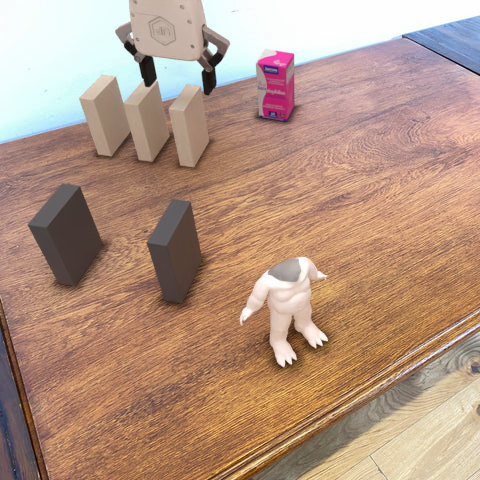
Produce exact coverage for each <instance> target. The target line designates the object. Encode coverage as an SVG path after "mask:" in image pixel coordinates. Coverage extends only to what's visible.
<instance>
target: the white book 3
mask: <svg viewBox="0 0 480 480" xmlns="http://www.w3.org/2000/svg"><path fill="white" fill-rule="evenodd" d="M202 91H203V90H202V86H201V85H196V84H188V83H187V84H185V86H184V87H183V89H181V91H180V93H179V94H178V95H177V97H176V98H175V99H174V101H173V102H172V103H171V105H170V106H169V107H168V114H169V118H170V123H171V127H172V132H173V133H172V134H173V137H174V142H175V147H176V152H177V156H178V161H179V166H181V167H186V168H187V167H188V168H195V167H196V165H197V163H198V162H199V160H200V158H201V156H202V155H203V153H204V151H205V149H206V147H207V146H208V145H209V143H210V137H209V131H208V123H207V117H206V111H205V105H204V98H203V97H204V96H203V92H202Z"/></svg>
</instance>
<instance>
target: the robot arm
mask: <svg viewBox="0 0 480 480" xmlns="http://www.w3.org/2000/svg"><path fill="white" fill-rule="evenodd" d="M128 7H129V18H130V21H128V22H126V23H124V24H122V25H119V27H117V28H116V29H115V31H114V33H115V35H116V36H117V38H118V39H119V41H120V43H122V44H123V48H124V49H125V50H126V51H127V52H128V53H129V54H130V55H131V56H132V58H133V60H134V62H136V63H138V68H139V71H140V76H141V79H142V80H144V84H145V87H151V85H152V84H153V83H154V82H155V81H157V79H158V76H157V71H156V64H155V59H154V58H159V59H168V60H175V61H182V62H183V61H184V62H197V63H198V64H199V65H200V66H201V68H203V69H202V70H201V74H200V75H201V81H202V89H203V90H202V91H203V94H204V95H205V96H210V95H211V93H212V92H213V90H214V89H216V87H217V84H218V83H217V82H218V81H217V80H218V79H217V71H216V67H217V66H218V65H219V64H221V62H222V61H223V60H224V58H225V57H226V54H227V52H228V50H229V49H230V48H229V47H230V45H231V42H230V39H228V38H226V37H225V36H223V35H221V34H219V33H218V32H216V31H214V30H213V29H211V28H210V27H209V26H207V25H208V24H207V18H206V14H205V9H204V6H203V1H202V0H128ZM131 34H132V35H131ZM209 43H211V44H212V45H214V46H215V47H216V52H215V53H214V54H213V52H212V51H211V50H210V49H209Z"/></svg>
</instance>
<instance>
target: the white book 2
mask: <svg viewBox="0 0 480 480" xmlns="http://www.w3.org/2000/svg"><path fill="white" fill-rule="evenodd" d="M161 93H162V92H161V89H160V85H159V81H158V80H156V81H155V82H154V83H153V84H152V85H151V87H145V84H144V79H142V81H141V82H140V83H139V84H138V85H137V87H136V88H135V89H134V90H133V91H132V93H130V95H128V97H127V98H126V99H125V100H124V101H123V105H124V109H125V112H126V116H127V119H128V123H129V126H130V130H131V132H130V133H131V137H132V141H133V144H134V148H135V151H136V155H137V159H138V161H141V162H143V161H144V162H152V163H153V162H154V160H155V159H156V157H157V156H158V154H159V153H160V151H161V150H162V149H163V147H164V145H165V144H166V143H167V141H168V140H169V138H170V137H171V134H170V129H169V126H168V121H167V116H166V112H165V107H164V102H163V99H162V94H161Z"/></svg>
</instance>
